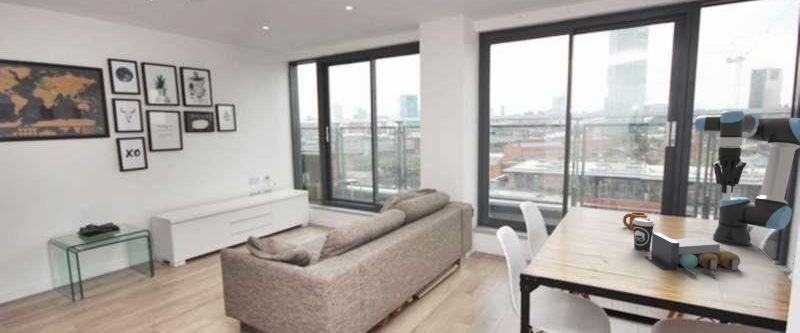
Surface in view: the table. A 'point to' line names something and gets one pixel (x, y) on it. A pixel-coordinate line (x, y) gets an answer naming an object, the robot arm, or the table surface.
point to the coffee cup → (642, 233)
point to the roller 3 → (725, 257)
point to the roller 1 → (688, 260)
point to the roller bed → (713, 268)
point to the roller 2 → (705, 258)
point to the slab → (697, 245)
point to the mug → (632, 216)
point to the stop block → (664, 252)
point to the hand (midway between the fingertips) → (726, 200)
